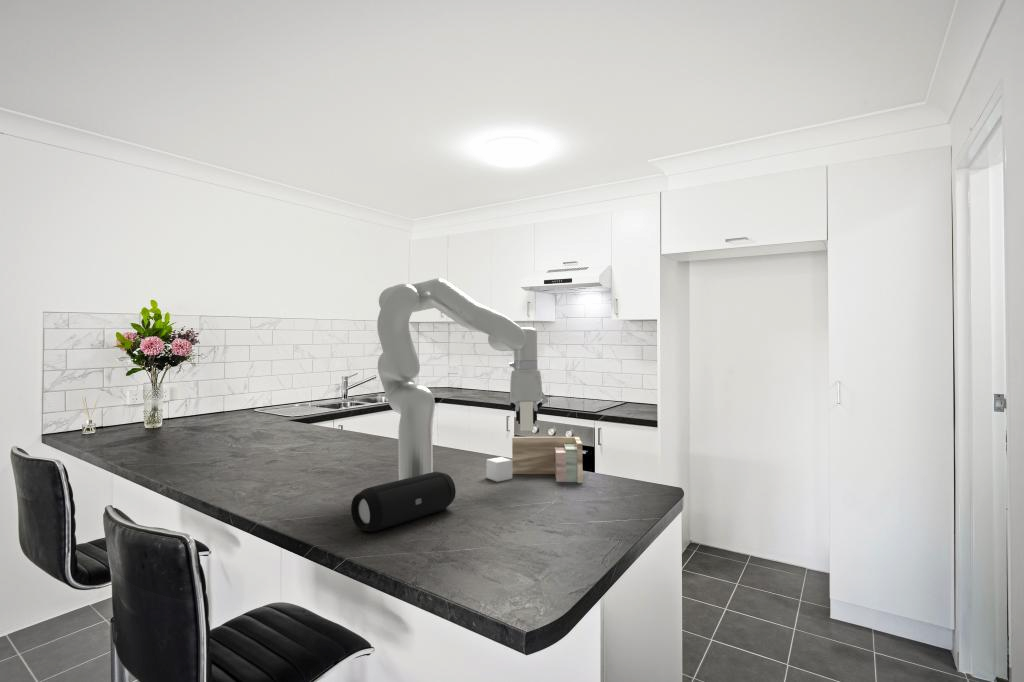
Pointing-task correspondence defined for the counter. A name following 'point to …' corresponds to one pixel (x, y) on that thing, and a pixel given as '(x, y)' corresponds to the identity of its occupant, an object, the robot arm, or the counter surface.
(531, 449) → the wide wooden block
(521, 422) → the white block
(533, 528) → the counter surface
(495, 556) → the counter surface
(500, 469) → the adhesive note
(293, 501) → the counter surface
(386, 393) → the robot arm
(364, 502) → the portable speaker
